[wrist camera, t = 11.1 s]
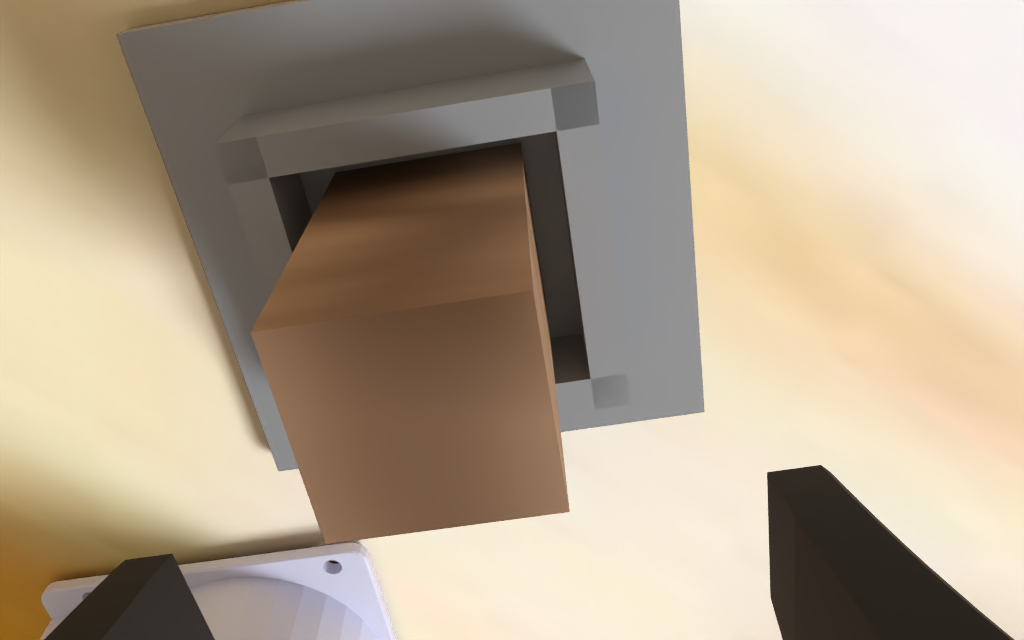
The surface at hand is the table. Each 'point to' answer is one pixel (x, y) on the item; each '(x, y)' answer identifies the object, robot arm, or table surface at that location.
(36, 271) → the table surface
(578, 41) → the stand
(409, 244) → the walnut block
